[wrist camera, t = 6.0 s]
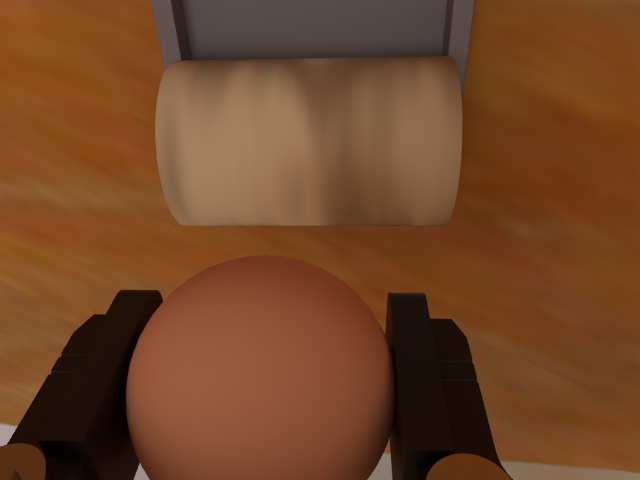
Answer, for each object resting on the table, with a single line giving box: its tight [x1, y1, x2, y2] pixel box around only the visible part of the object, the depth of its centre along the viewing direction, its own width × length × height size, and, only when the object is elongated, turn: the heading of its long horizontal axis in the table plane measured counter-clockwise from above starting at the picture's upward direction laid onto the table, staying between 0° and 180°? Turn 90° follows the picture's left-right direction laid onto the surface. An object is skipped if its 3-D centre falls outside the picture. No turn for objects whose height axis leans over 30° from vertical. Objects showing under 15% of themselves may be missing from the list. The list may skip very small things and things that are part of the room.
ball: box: [126, 256, 395, 480], centre depth 10 cm, size 5×5×5 cm
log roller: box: [155, 56, 462, 226], centre depth 23 cm, size 11×7×7 cm, turn 92°
